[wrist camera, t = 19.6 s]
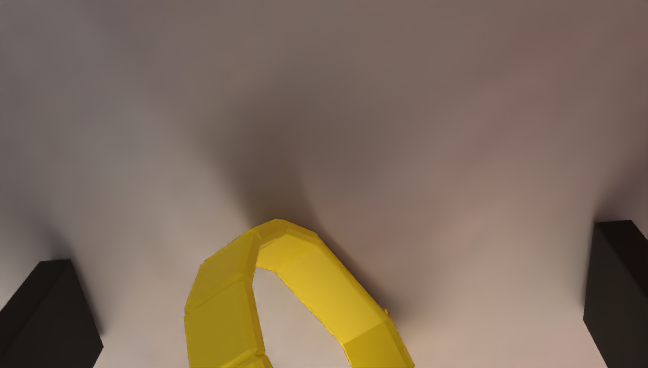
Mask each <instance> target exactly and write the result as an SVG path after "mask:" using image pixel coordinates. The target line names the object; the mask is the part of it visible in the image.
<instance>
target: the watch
mask: <svg viewBox="0 0 648 368" xmlns="http://www.w3.org/2000/svg"><path fill="white" fill-rule="evenodd" d="M256 266H257V267H260V268H264V269H267V270H270V271H274V272H275V273H276V274H277V275H278V276H279V277H280V279H281V280H282V281H283V282H284V283H285V284H286V285H287V286H288V287H289V288H290V289H291V290H292V292H293V293H294V294H295V295H296V296H297V297H298V298H299V299H300V300H301V301H302V302H303V303H304V305H305V306H306V307H307V308H308V309H309V310H310V311H311V312H312V313H313V314H314V315H315V316H316V318H317V319H318V320H319V321H320V322H321V323H322V324H323V325H324V326H325V327H326V328H327V329H328V331H329V332H330V333H331V334H332V335H333V336H334V337H335V338H336V339H337V340H338V341H339V342H340V344H341V345H342V348H343V350H344V352H345V354H346V356H347V358H348V361H349V363H350V365H351V367H352V368H414V366H415V365H414V363H413V361H412V359H411V357H410V355H409V353H408V351H407V349H406V347H405V345H404V343H403V341H402V339H401V337H400V335H399V333H398V331H397V329H396V327H395V325H394V323H393V321H392V319H391V317H388V316H387V315H388V314H389V312H388V311H387V310H386V309H384V310H382V309H381V308H380V306H379V305H378V304H377V303H376V302H375V301H374V300H373V298H372V297H371V296H370V295H369V294H368V293H367V292H366V290H365V289H364V288H363V287H362V286H361V285H360V284H359V282H358V281H357V280H356V279H355V278H354V277H353V276H352V274H351V273H350V272H349V271H348V270H347V269H346V267H345V266H344V265H343V264H342V263H341V262H340V261H339V259H338V258H337V257H336V256H335V255H334V254H333V253H332V251H331V250H330V249H329V248H328V247H327V246H326V245H325V243H324V242H323V241H322V240H321V239H320V238H319V237H318V235H317V233H315V232H313V231H310V230H308V229H305V228H303V227H301V226H298V225H296V224H293V223H291V222H288V221H286V220H283V219H274V220H271V221H269V222H266V223H264V224H261V225H259V226H256V227H254V228H251V229H250V230H248V231H247V232H245V233H244V234H242V235H241V236H239V237H238V238H237V239H235V240H234V241H232V242H231V243H229V244H228V245H226V246H225V247H224V248H222V249H221V250H219V251H218V252H216V253H215V254H214V255H212V256H211V257H209V258H208V259H206V260H205V261H204V263H203V264H202V265H200V268H199V270H198V273H197V276H196V278H195V281H194V284H193V286H192V289H191V292H190V295H189V297H188V300H187V303H186V305H185V313H186V315H185V316H184V323H185V332H186V340H187V349H188V358H189V366H190V368H273V367H272V365H271V363H270V361H269V359H268V357H267V356H266V355H265V347H264V342H263V337H262V332H261V328H260V323H259V318H258V313H257V308H256V303H255V298H254V294H253V289H252V281H253V276H254V272H255V268H256Z"/></svg>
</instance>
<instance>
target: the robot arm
mask: <svg viewBox="0 0 648 368" xmlns="http://www.w3.org/2000/svg"><path fill="white" fill-rule="evenodd" d="M583 321H584V323H585V324H586V326H587V328H588V330H589V332H590V334H591V336H592V338H593V340H594V342H595V344H596V346H597V348H598V350H599V351H600V353H601V355H602V357H603V359H604V361H605V363H606V365H607V367H608V368H648V240H647V239H646V238H645V236H644V235H643V234H642V233H641V232H640V230H639V229H638V228H637V227H636V225H635V224H634V223H633V222H632V220H624V221H610V222H595V227H594V235H593V243H592V251H591V259H590V267H589V275H588V283H587V291H586V299H585V308H584V316H583ZM103 347H104V346H103V344H102V341H101V338H100V336H99V333H98V330H97V328H96V325H95V322H94V320H93V317H92V314H91V312H90V309H89V306H88V304H87V301H86V298H85V296H84V293H83V290H82V288H81V285H80V282H79V280H78V277H77V274H76V272H75V269H74V266H73V264H72V261H71V259H67V260H52V261H40V262H39V263H38V264H37V266H36V267H35V268H34V270H33V271H32V272H31V273H30V275H29V276H28V277H27V278H26V280H25V281H24V282H23V283H22V285H21V286H20V287H19V289H18V290H17V291H16V292H15V294H14V295H13V296H12V297H11V299H10V300H9V301H8V302H7V304H6V305H5V306H4V308H3V309H2V310H1V311H0V368H93V367H94V365H95V363H96V361H97V359H98V357H99V355H100V353H101V351H102V349H103Z"/></svg>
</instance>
